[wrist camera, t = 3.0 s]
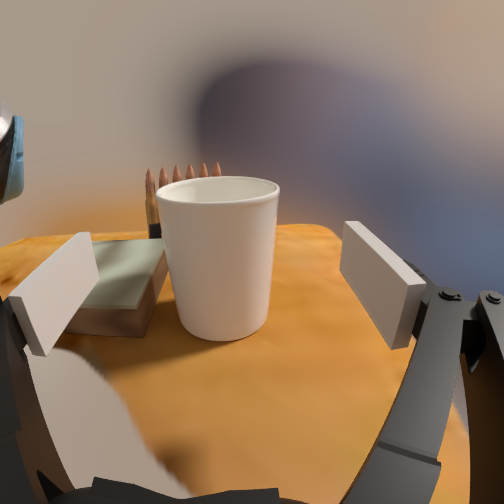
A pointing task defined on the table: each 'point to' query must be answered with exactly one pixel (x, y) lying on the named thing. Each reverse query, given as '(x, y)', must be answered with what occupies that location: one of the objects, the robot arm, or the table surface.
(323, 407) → the table surface
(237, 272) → the white cup
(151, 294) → the stand
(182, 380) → the table surface
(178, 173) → the ammunition clip
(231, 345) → the table surface
